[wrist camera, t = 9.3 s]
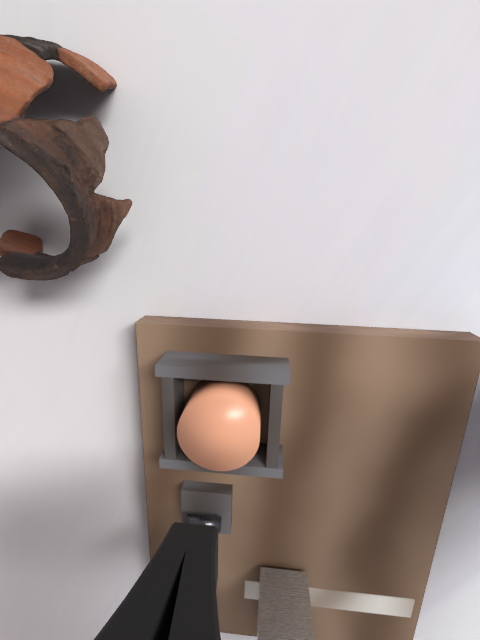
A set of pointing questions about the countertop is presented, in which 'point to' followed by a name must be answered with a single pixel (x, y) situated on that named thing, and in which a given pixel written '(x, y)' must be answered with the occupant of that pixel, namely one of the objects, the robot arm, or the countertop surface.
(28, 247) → the brown curved loop piece
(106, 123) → the countertop surface
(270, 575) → the gray rectangular block
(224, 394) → the push button
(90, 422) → the countertop surface
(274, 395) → the control panel
